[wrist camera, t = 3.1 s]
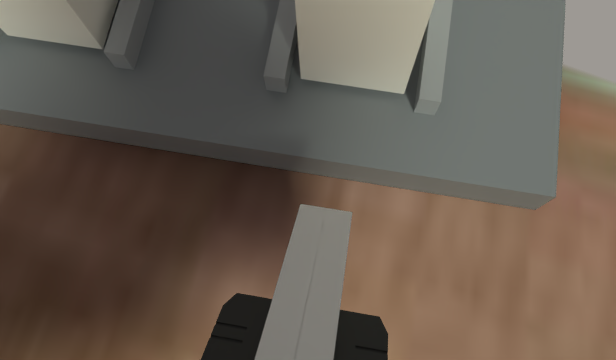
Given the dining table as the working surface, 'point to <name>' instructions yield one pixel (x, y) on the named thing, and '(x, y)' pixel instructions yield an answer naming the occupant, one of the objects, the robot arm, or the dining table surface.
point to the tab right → (361, 41)
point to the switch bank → (311, 95)
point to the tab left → (59, 20)
